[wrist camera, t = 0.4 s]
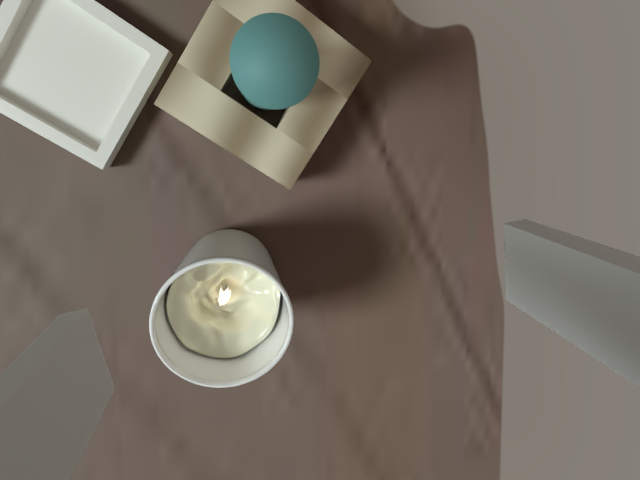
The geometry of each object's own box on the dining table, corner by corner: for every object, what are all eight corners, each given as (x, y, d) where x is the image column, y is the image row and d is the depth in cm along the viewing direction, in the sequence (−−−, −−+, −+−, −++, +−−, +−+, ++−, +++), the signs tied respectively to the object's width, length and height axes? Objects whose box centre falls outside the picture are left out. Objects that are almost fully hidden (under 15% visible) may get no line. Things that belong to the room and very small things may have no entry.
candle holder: (242, 200, 39) (241, 230, 27) (299, 280, 42) (319, 338, 30) (154, 258, 39) (116, 313, 27) (217, 334, 42) (207, 412, 30)
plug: (224, 94, 35) (212, 74, 22) (254, 44, 35) (260, -9, 21) (273, 126, 37) (289, 126, 23) (302, 78, 36) (336, 50, 23)
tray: (-25, 91, 33) (-42, 89, 31) (39, -36, 32) (26, -46, 30) (109, 167, 36) (102, 169, 34) (173, 54, 35) (169, 50, 33)
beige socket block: (165, 107, 36) (153, 104, 31) (238, -21, 34) (238, -45, 29) (284, 182, 39) (290, 189, 34) (355, 69, 38) (372, 60, 33)
